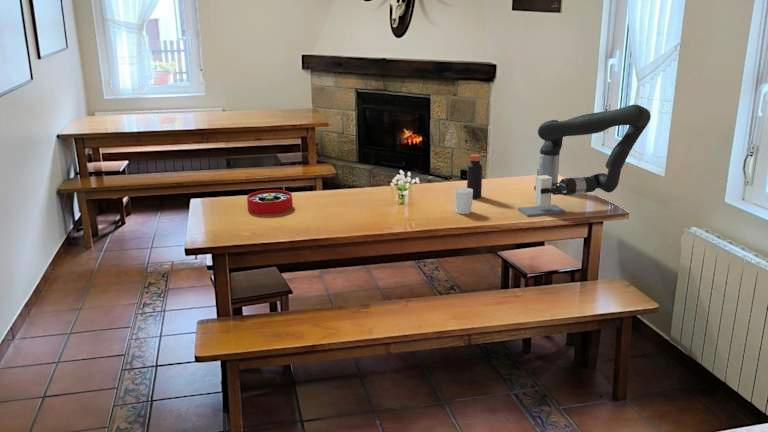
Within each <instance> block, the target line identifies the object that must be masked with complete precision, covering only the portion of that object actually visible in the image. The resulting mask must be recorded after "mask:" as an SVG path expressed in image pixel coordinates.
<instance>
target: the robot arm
mask: <svg viewBox="0 0 768 432" xmlns="http://www.w3.org/2000/svg"><path fill="white" fill-rule="evenodd" d="M651 117H652V116H651V113H650V110H648V109H647V108H646V107H644V106H643V105H639V104H631V105H627V106H623V107H620V108H617V109H613V110H605V111H599V112H598V111H597V112H593V113H586V114H582V115H578V116H574V117H572V118H569V119H567V120H560V121H559V120H557V119H552V120H548V121H545V122H543V123H542V124H540V125H539V127H538V130H537V134H538V137H539V138H540V139H541V140H543V141H544V142H543V145H542V146H541V147H540V149H539V163H538V168H537V172H536V176H542V175H547V176H549V177H552V187H551V188H544V189H541V192H540V193H541V194H547V193H549V194H551V195H554V196H556V195H557V196H558V195H562V196H573V195H580V194H587V193H593V192H595V191H596V189H600V190H602V191H603V192H605V193H608V194H609V193H613V192H614V191H615V190H616V189H617V187H618V185H619V183H620V182H619V181H620V177H621V172H622V169H623V167H624V165H625V163H626V161H627V159H628V156H629V155H630V153H631V150H632V149H633V147H634V146H635V144H636V143H637V141H638V139H639V138H640V137H641V135H642V134H643V132H644V131H645V129H646V128H647V126H648V125H649V123H650V121H651ZM619 126H628V128H627V130H626V131H625V134H624V135H623V136H622V138H621V139H620V140H619V141H618V142H617V144H616V145H615V146H614V147H613V149H612V150H611V153H610V154H609V155H608V156H609V157H608V158H607V160H606V163H605V168H606V169H607V173H600V172H599V173H595V174H593V175H590V176H580V177H579V176H578V177H577V176H574V177H567V178H566V177H565V178H564V177H563V178H562V179H560V181H559V171H560V170H559V169H560V167H559V166H560V155H561V150H562V147H563V139H564V138H565V137H573V136H578V137H579V136H586V135H593V134H599V133H603V132H604V131H607V130H608V129H611V128H613V127H619ZM533 188H534V189H533V190H534V191H535V188H536V184H535V185H534V187H533Z"/></svg>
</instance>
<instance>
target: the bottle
mask: <svg viewBox="0 0 768 432" xmlns="http://www.w3.org/2000/svg"><path fill="white" fill-rule="evenodd" d="M481 159H482V158H481V154H477V153H473V154H472V153H471V154H470V155H469V161H470V163H469V164H468V165H467V170H466V171H467V172H466V173H467V175H466V176H467V178H466V179H467V180H466V188H470V189H472V190H473V197H472V200H473V199H480V198H482V188H483V187H482V186H483V185H482V184H483V165H482V163H481Z"/></svg>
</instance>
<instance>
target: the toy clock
mask: <svg viewBox="0 0 768 432" xmlns="http://www.w3.org/2000/svg"><path fill="white" fill-rule="evenodd" d="M246 202H247V210H248V212H249V211H250V213H251V212H252V214H254V213H255V215H262V214H271V215H277V214H283V213H286V212H289V211H292V209H293V195H292V193H291V192H290V191H287V190H281V189H265V190H259V191H255V192H254V191H253V192H252V193H249V194H248V195H247V197H246Z"/></svg>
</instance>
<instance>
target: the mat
mask: <svg viewBox="0 0 768 432" xmlns="http://www.w3.org/2000/svg"><path fill="white" fill-rule="evenodd" d="M517 211H519V212H520V213H521V212H522V213H521V214H523V215H524V214H525V216H526V217H530V218H531V217H538V216H549V215H550V216H551V215H558V214H559V215H560V214H567V211H566V210H565V209H563V208H562V207H560V206H559V205H557V204H551V205H542V206H540V205H535V206H524V207H523V206H522V207H517Z"/></svg>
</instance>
